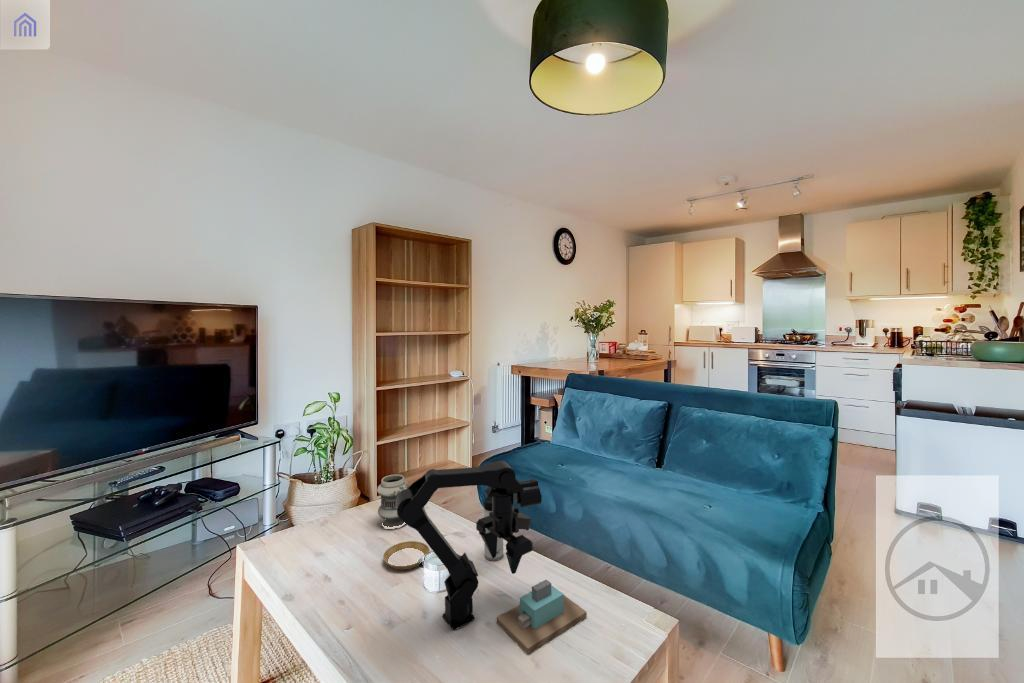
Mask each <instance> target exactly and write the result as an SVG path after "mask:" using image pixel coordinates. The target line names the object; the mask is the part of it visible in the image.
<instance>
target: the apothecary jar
mask: <svg viewBox="0 0 1024 683" xmlns="http://www.w3.org/2000/svg"><path fill="white" fill-rule="evenodd" d="M380 481H381V483H380V484H379V485H378V486H377V490H376V491H377V493H378V495H379V496H380V506H379V507H378V508H377V509H378V510H377V514H378V516H379V517H380V518H381V519H383V521H384V522H383V521H382V522H383V525H384V526H387V527H388V526H389V527H393V526H399V525H402V524H403V523H404V522H403V521H402V520H401V519H400V518H399V517H398V514H397V507H396V497H397V495H398V494H399V493H400V492H401V491H402V490H404V489H407V488H408V487H409V486H410V484H409V482H408V481H407V480H405V476H404V475H403V474H396V473H395V474H390V475H386V476H384V477H382V478H381V480H380ZM385 519H386V520H385Z"/></svg>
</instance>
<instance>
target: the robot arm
mask: <svg viewBox="0 0 1024 683" xmlns="http://www.w3.org/2000/svg"><path fill="white" fill-rule="evenodd" d="M473 486H485V487H487V488H486V489H485V490H484V494H485V495H486V496H487V497H492V512H490V513H489V516H487V517H484V516H483V517H482V518H479V519H478V520H477V522H476V523H475V524H476V527H475V528H476V531H478V534H479V535H480V537H481V539H482V540H483V542H485V544H486V546H487V548H488V550H489V552H490V554H491V556H492V558H495V557H496V553H497V537H499V538H503V541H505V542H506V544H505V550H506V551H505V556H506V560H507V562H508V567H509V569H510V571H511V574H512V575H514V574H516V573H517V570H518V567H519V565H520V562H521V559H522V557H523V556H524V555H527V554H529V553H530V552H533V551H534V550H533V548H534V547H533V544H534V543H533V541H532V540H531V539H529V538H527V537H526V536H524V535H523V534H521V535H519V536H515V535H514V534H517V533H519V532H520V530H525V531H529V530H530V527H531V523H532V517H530V516H528V515H526V514H525V513H523V512H521V511H520V510H519V508H524V507H531V506H538V505H541V503H542V500H543V499H542V493H541V489H540V486H539V481H538V480H537V479H536V478H531V479H529V480H522V481H519V480H518V479H517V477H516V473H515V471H514V469H513V468H512V467H511V466H510V465H509V464H508V463H507V462H506V461H505V460H495V461H491V462H487V463H485V464H483V465H482V466H476V467H460V468H446V469H445V468H444V469H435V468H431V469H429V470H427V471H426V472H425V473H424V474H423V475H422V476H420V477H419V478H418V479H417V480H414V482H412V483H411V484H409V487H408V488H407V489H404V490H402V491H401V492H400V493H399V494H398V495H397V497H396V507H397V514H398V517H399V518H400V519H401V520H402V521H403V522H405V523H406V525H407V526H408V527H410V528H412V530H413V529H414V530H416V531H417V532H418V534H419V536H421V538H422V539H423V540H424V542H425V544H426V545H427V546H428V547H429V549H431V550H432V552H433V553H434V554H435V555H436V557H437V558H438V559H439V561H440V562H441V563H442V564H443V566H444V567H445V568H446V570H447V571H448V574H449V575H448V576H447V578H446V579H445V580H444V586H445V589H446V593H447V595H446V596H445V597H444V613H442V618H443V619H444V621H445V622H446V623H447V624H448V625H449V627H450V628H451V629H452V630H457V629H459V628H461V627H463V626H466V625H467V624H469V623H470V622H473V621H475V619H476V618H475V616H474V614H473V612H474V608H473V607H474V603H473V600H474V599H473V596H474V592H476V590H477V589H478V586H479V579H478V577H479V574H478V571H477V569H476V567H475V563H474V562H473V561H474V560H473V561H472V560H471V559H469V557H468V556H467V552H463V553H462V555H460V554H458V553H457V552H456V551H455V549H454V548H453V547H452V545H451V544H450V543H449V542H448V540H447V539H446V538H445V536H444V535H443V534H442V532H441V531H440V530H439V529H438V527H437V526H436V525H435V523H434V522H433V521H432V519H431V518H430V517H429V515H428V513H427V511H426V508H425V506H427V504H428V502H429V501H430V499H431V498H432V497H433V495H434V494H435V492H436V491H437V490H438V489H447V488H457V487H458V488H459V487H460V488H461V487H473ZM487 497H486V498H487ZM514 504H516V505H518V507H519V508H518V507H516V506H514Z"/></svg>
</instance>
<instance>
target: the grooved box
mask: <svg viewBox="0 0 1024 683" xmlns="http://www.w3.org/2000/svg"><path fill="white" fill-rule="evenodd" d="M519 605H520V616H521V615H522V614H524V613H527V614H528V615H529V616H530V617H531V627H532V628H533V629H534V630H535V629H537V628H538V627H540V626H542V625H543V624H545V623H547V622H549V621H550V620H552V619H554V618H555V617H557V616H559V615H560V614H562V613H564V593H563V592H561V591H560V590H559V589H557V588H556V587H555V586H554V585H552V582H551V581H549V580H548V579H544V580H542V581H540V582H538V583H537V584H534V585H532V586H531V591H530V592H528V593H526V594H524V595H521V597H519Z"/></svg>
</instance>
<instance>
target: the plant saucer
mask: <svg viewBox="0 0 1024 683" xmlns="http://www.w3.org/2000/svg"><path fill="white" fill-rule="evenodd" d="M405 548H414V549H418V550H420V551H422V552H423V553H424V555H425V554H428V553H429V554H430V546H429V545H428V544H427V543H424V542H421V541H416V540H415V541H414V540H412V541H409V540H408V541H403V542H399V543H397V544H394V545H392V546H390V547H389V548H387V549H386V550H385V552H384V553H383V562H384V563H386V565H388V566H389V567H391V568H392V567H393V568H392V569H394V568H395V569H394V570H398V569H407V570H411V569H414V568H417V567H418V566H420V565H419V563H420V562H417V563H415V564H412V565H407V566H395V565H391V564H389V563H388V559H389V557H390V556H391V555H392V554H393V553H395V552H397V551H399V550H402V549H405ZM429 554H428V555H429ZM413 567H414V568H413ZM410 568H411V569H410Z"/></svg>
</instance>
